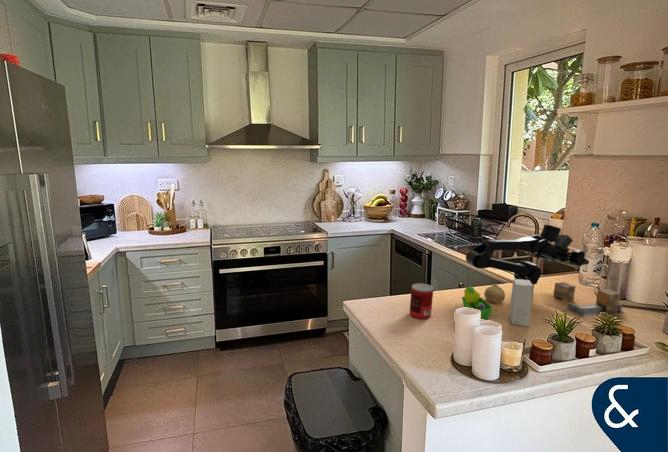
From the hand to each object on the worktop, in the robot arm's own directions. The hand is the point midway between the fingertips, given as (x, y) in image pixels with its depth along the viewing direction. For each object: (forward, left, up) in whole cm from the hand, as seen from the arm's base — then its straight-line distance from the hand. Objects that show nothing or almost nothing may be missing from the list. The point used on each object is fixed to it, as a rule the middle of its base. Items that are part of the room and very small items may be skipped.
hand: (579, 261), depth 176 cm
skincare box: (-47, -20, -15) cm, 53 cm away
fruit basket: (-60, -12, -15) cm, 63 cm away
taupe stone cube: (-5, -19, -14) cm, 24 cm away
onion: (-43, -1, -15) cm, 45 cm away
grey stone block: (-13, -6, -15) cm, 20 cm away
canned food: (-80, -8, -15) cm, 81 cm away
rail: (-11, -19, -15) cm, 26 cm away
